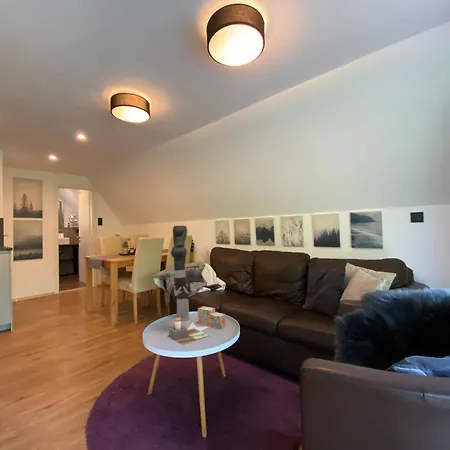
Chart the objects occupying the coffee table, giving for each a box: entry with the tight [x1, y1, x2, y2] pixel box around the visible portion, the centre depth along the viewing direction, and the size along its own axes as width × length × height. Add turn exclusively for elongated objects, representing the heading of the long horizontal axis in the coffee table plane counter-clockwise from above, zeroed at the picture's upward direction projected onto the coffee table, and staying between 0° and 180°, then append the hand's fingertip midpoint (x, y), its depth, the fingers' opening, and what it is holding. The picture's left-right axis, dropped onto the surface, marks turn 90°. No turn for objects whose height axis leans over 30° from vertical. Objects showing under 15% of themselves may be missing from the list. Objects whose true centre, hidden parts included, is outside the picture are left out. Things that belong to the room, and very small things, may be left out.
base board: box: [167, 327, 210, 346], centre depth 185 cm, size 20×20×2 cm
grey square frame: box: [168, 325, 189, 341], centre depth 185 cm, size 9×9×5 cm
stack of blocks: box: [197, 305, 227, 330], centre depth 207 cm, size 21×6×12 cm, turn 53°
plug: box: [174, 316, 182, 331], centre depth 185 cm, size 4×4×12 cm
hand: (181, 300), depth 191 cm, fingers open, 8 cm apart
